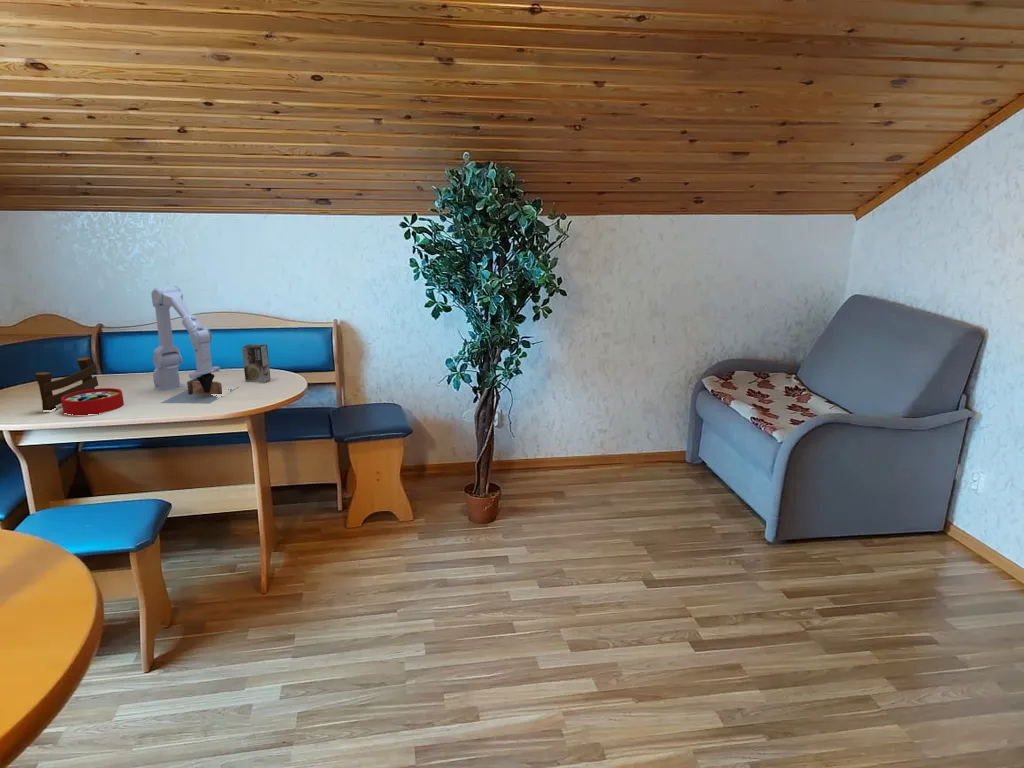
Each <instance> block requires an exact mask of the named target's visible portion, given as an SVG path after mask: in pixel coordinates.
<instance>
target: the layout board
mask: <svg viewBox="0 0 1024 768" xmlns="http://www.w3.org/2000/svg"><path fill="white" fill-rule="evenodd" d="M236 387H237V388H236V389H233V390H232V389H230V393H231V392H233V391H235V390H237V389H239V388H240V386H236ZM228 390H229V389H228ZM216 396H217V395H216ZM216 396H213V395H211V394H188V389H186V390H184V391H182V392H180V393H178V394H176V395H174V396H172V397H169V398H167V399H166V400H163V401H161V402H160V404H204V405H205V404H206V405H207V404H212V403H214V402H215V401H217V400H219V399H220V398H218V397H216ZM217 398H218V399H217ZM221 398H223V396H221Z"/></svg>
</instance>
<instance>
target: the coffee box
mask: <svg viewBox="0 0 1024 768" xmlns="http://www.w3.org/2000/svg"><path fill="white" fill-rule="evenodd" d="M241 353H242V362H243V363H242V364H243V370H244V371H243V372H244V379H245V382H246V383H259V382H265V383H267V382H269V381H271V380H270V379H271V373H270V363H269V362H270V361H269V351H268V344H258V343H257V344H246V345H244V346H241ZM268 380H269V381H268ZM266 381H267V382H266Z"/></svg>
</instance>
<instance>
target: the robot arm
mask: <svg viewBox="0 0 1024 768" xmlns="http://www.w3.org/2000/svg"><path fill="white" fill-rule="evenodd" d="M150 293H151V301H152V302H151V303H152V307H153V308H155V316H156V326H157V334H158V335H157V336H158V343H159V344H158V347H156V348H155V349H154V350H153V357H152V363H153V365H154V367H155V369H154V370H153V373H152V376H153V377H152V378H153V385H154V389H153V390H154V391H176V390H179V389H180V387H181V388H183V387H185V384H181V380H180V373H179V368H180V365H181V364H182V361H183V358H182V355H181V351H180V348H179V347H177V346H176V345H174V339H173V331H172V321H171V312H170V309H171V307H172V308H173V309H174V310H175V312H176V313H177V314H178V315H179V316H180V318H182V321H181V323H182V325H183V327H184V328H185V330H186V331H187V332H188V334H189V341H190V343H191V345H192V349H193V350H194V359H195V365H196V370H195V371H193V372H192V373H189V374H188V375H189V379H190V380H192V379H195V378H197V379H198V380H199V382H200V383H201V385H202V387H203V390H204V392H206V393H209V392H210V389H211V384H212V382H214V381H213V380H214V378H215V374H214V373H216V372H218V373H219V372H221V367H220V366H216V365H215V366H213V363H212V355H211V354H212V353H211V348H210V347H211V346H210V343H211V342H212V340H213V335H212V333H211V331H210V329H209V328H206V327H205V326H203V325H202V324H201V322H200V321H199V319H198V318H197V316H196V315H194V314H191V312H190V310H189V309H188V307H187V305H186V303H185V301H184V294H183V291H182V289H181V288H180V287H179V286H178V285H174V286H168V287H167V286H166V287H155V288H153V290H152V291H151V292H150ZM182 386H183V387H182Z"/></svg>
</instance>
